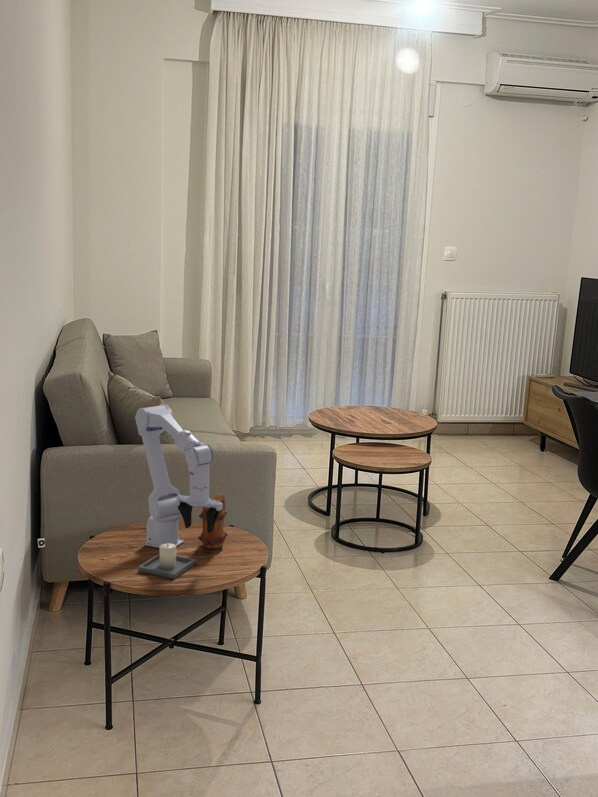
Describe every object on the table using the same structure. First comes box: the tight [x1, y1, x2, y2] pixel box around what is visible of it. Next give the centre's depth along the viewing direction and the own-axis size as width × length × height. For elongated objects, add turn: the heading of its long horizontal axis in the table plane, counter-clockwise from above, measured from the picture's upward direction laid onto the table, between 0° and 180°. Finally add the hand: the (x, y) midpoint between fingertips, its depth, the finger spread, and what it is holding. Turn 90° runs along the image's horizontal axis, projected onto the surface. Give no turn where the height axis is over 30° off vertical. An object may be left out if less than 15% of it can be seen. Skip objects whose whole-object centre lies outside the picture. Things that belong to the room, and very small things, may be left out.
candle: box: [159, 543, 177, 569], centre depth 236 cm, size 5×5×7 cm
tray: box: [137, 552, 197, 581], centre depth 236 cm, size 12×12×2 cm
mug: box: [198, 493, 228, 550], centre depth 254 cm, size 15×8×15 cm, turn 168°
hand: (199, 529), depth 239 cm, fingers open, 7 cm apart
